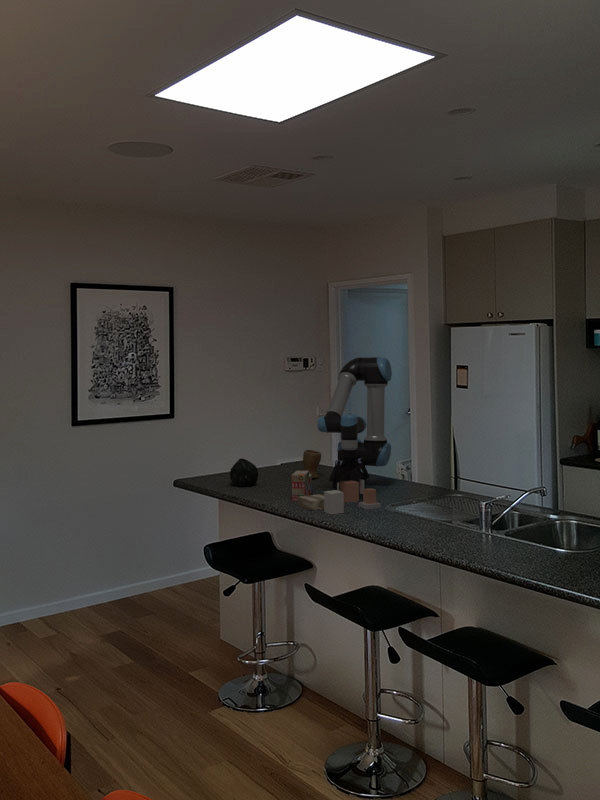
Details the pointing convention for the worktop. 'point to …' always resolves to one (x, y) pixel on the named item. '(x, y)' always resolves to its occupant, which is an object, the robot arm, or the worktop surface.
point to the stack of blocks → (301, 484)
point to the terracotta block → (350, 490)
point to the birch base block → (311, 502)
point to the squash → (243, 473)
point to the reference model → (369, 499)
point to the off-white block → (333, 502)
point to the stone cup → (311, 462)
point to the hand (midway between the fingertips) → (349, 495)
